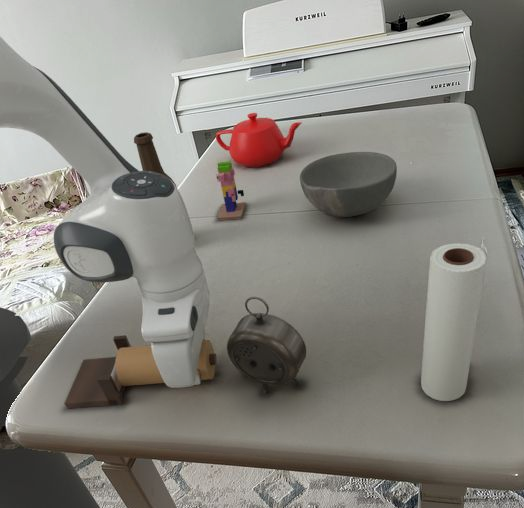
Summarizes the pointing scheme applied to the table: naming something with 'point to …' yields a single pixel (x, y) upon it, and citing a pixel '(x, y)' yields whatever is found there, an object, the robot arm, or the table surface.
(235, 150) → the teapot
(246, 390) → the table surface
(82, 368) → the stand
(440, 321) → the paper towel roll
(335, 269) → the table surface
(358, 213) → the bowl
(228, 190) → the figurine
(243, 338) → the alarm clock
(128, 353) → the tan cylinder
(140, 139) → the beer bottle
